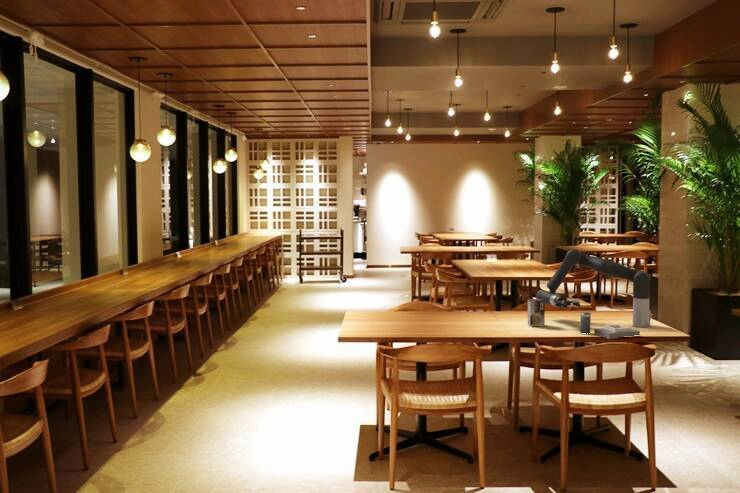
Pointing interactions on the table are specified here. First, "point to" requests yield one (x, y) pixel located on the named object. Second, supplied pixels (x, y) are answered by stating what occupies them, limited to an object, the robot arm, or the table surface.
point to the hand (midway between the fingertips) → (573, 305)
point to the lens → (585, 322)
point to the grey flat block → (615, 331)
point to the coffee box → (536, 312)
